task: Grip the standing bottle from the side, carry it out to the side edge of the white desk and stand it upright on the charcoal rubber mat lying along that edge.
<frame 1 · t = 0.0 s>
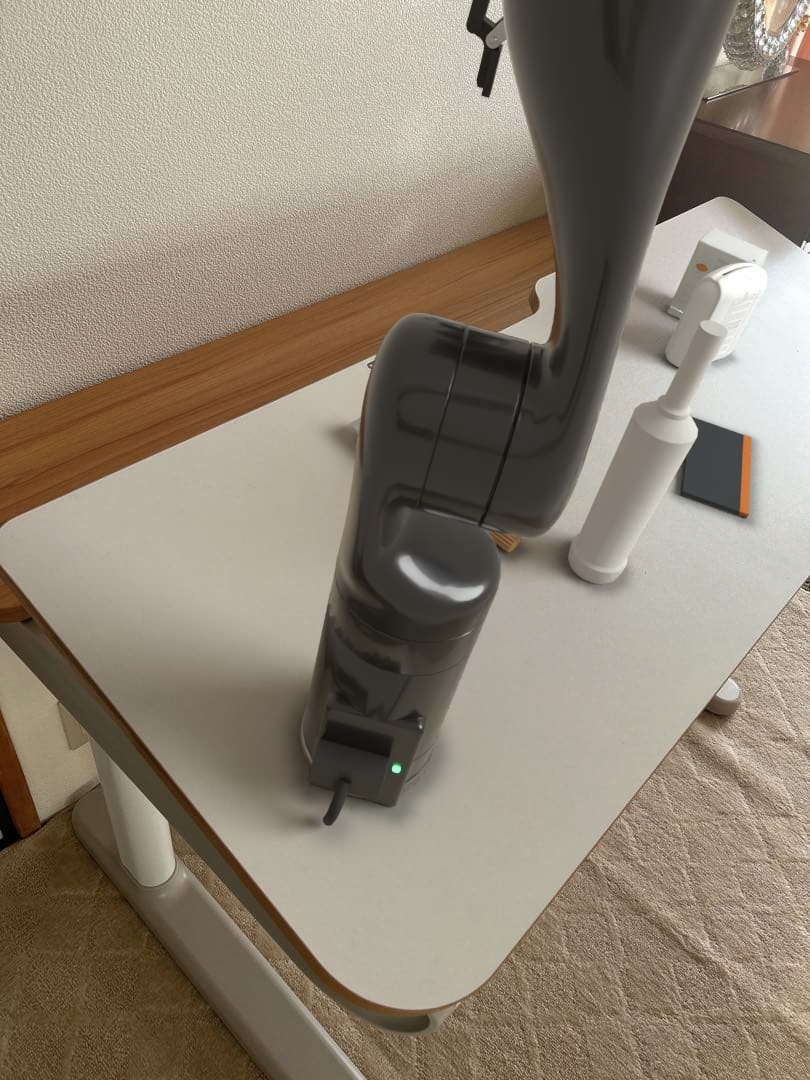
hand: (535, 108, 75), 29 cm above the table, tool pointing down, fingers open, 8 cm apart
bottle: (592, 566, 80), on the table
small box: (698, 319, 117), on the table
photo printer: (695, 357, 110), on the table
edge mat: (716, 466, 94), on the table
paintbrush: (429, 491, 83), on the table
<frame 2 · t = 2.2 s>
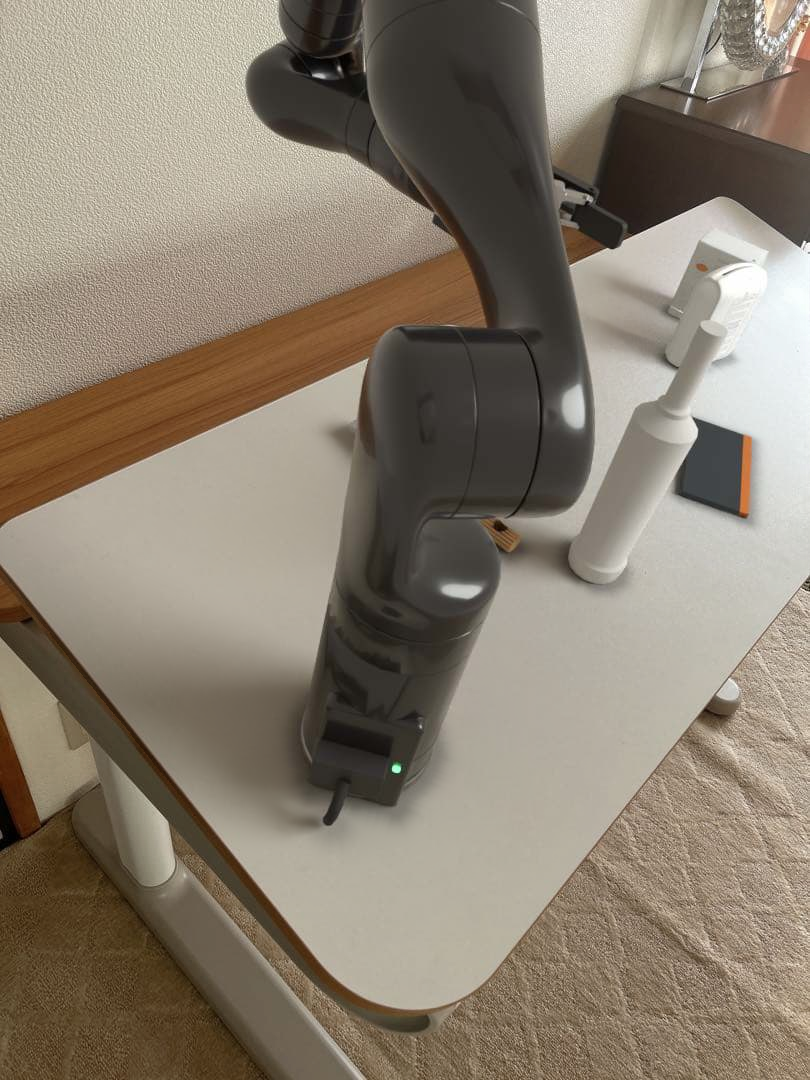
hand: (591, 250, 67), 25 cm above the table, tool horizontal, fingers open, 8 cm apart
nothing on the table moved.
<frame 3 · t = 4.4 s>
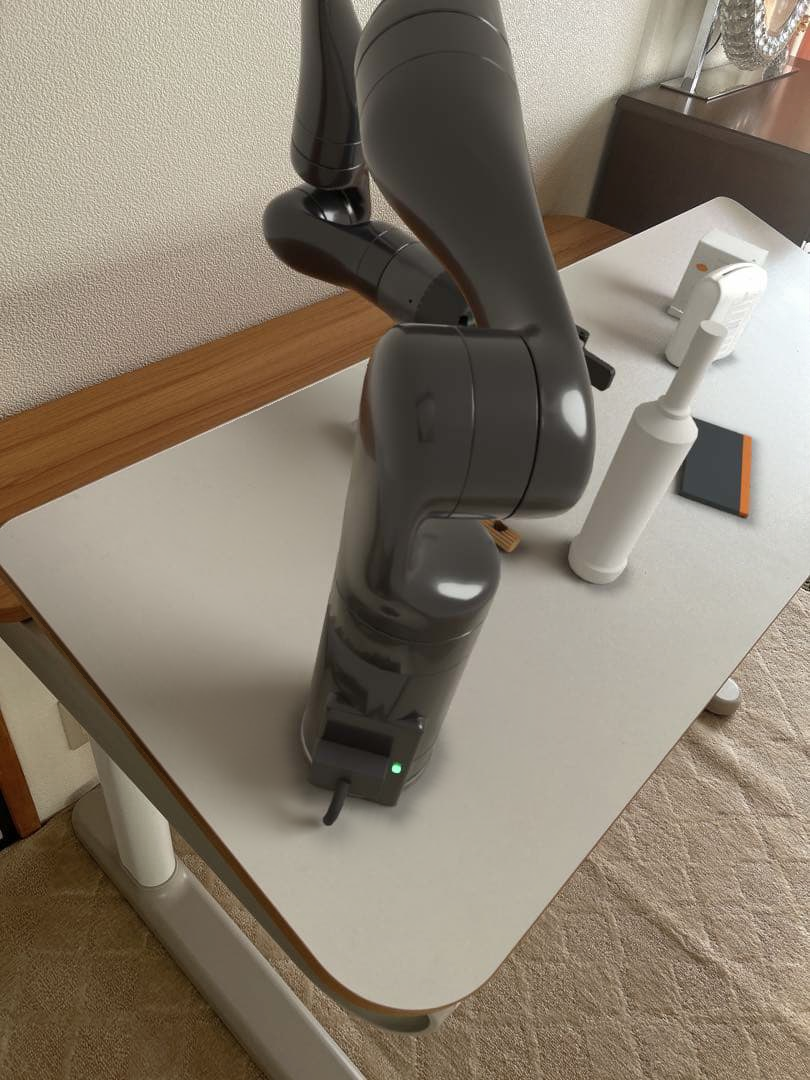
hand: (582, 397, 73), 14 cm above the table, tool horizontal, fingers open, 8 cm apart
nothing on the table moved.
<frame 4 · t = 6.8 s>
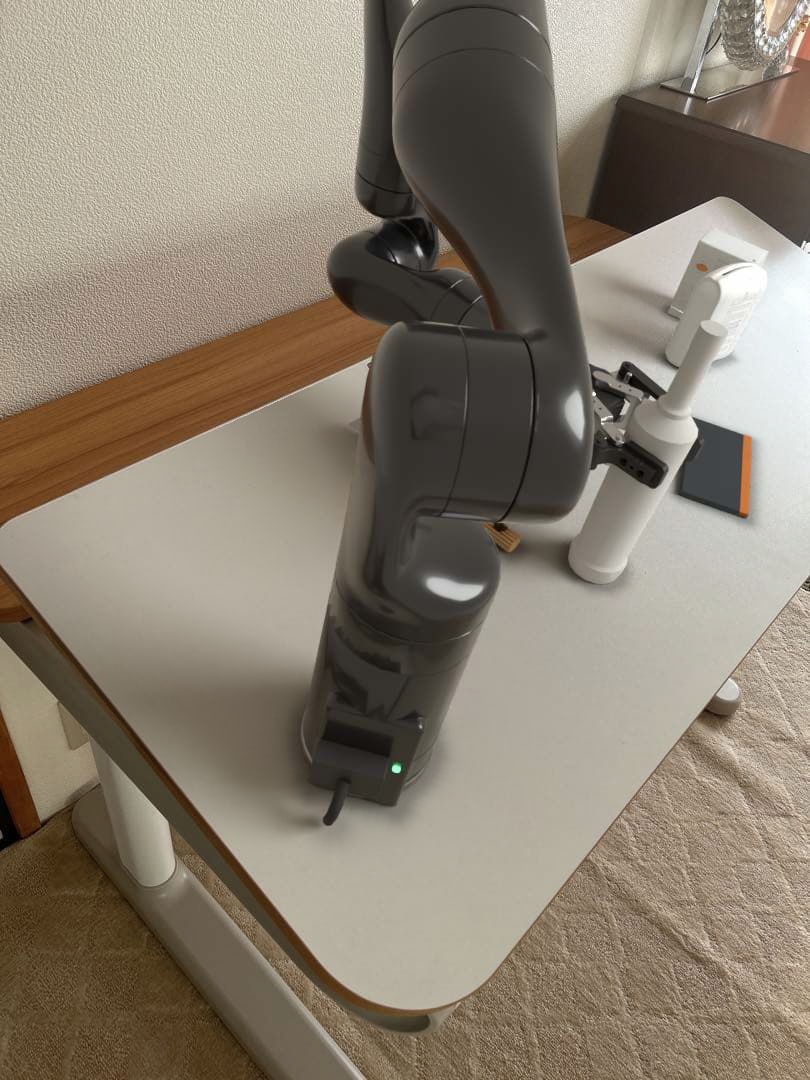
hand: (680, 464, 69), 14 cm above the table, tool horizontal, fingers closed on bottle, 5 cm apart
bottle: (592, 565, 80), on the table, touching gripper
everything else where it was.
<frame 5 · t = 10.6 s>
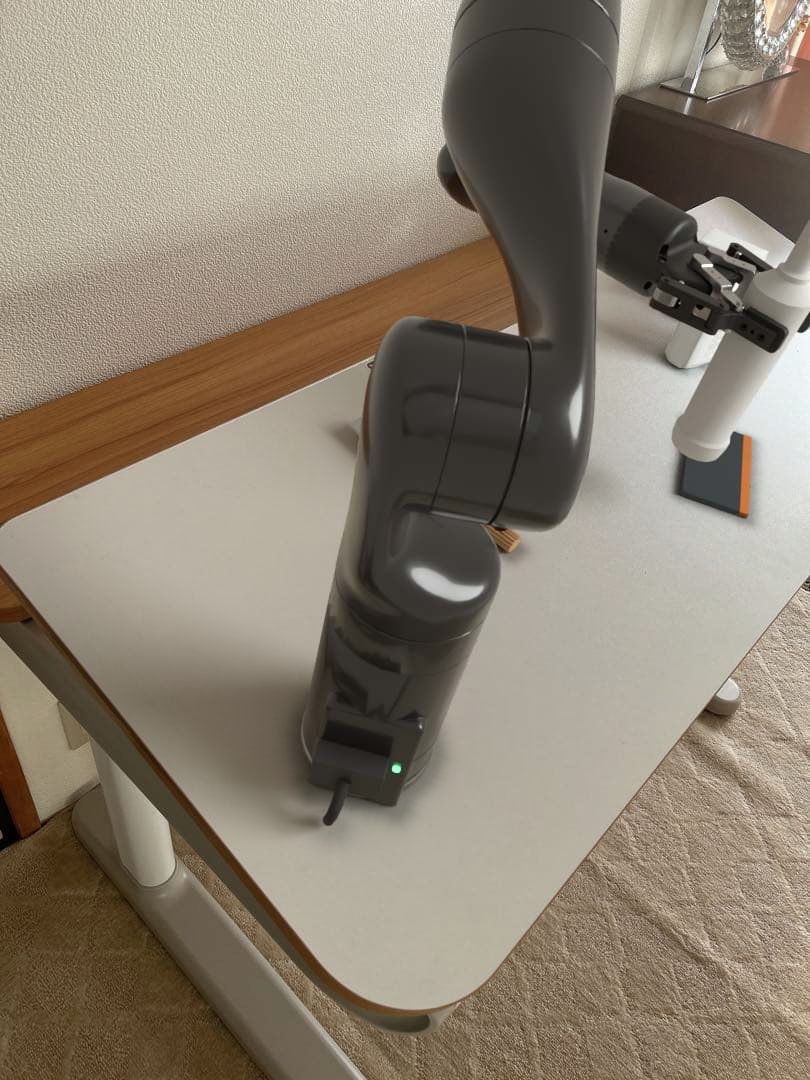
hand: (796, 331, 72), 22 cm above the table, tool horizontal, fingers closed on bottle, 5 cm apart
bottle: (694, 446, 83), point 8 cm above the table, touching gripper
everything else where it was.
when the fingers open (15 cm above the table, at t = 14.4 s): bottle stays where it is, resting on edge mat.
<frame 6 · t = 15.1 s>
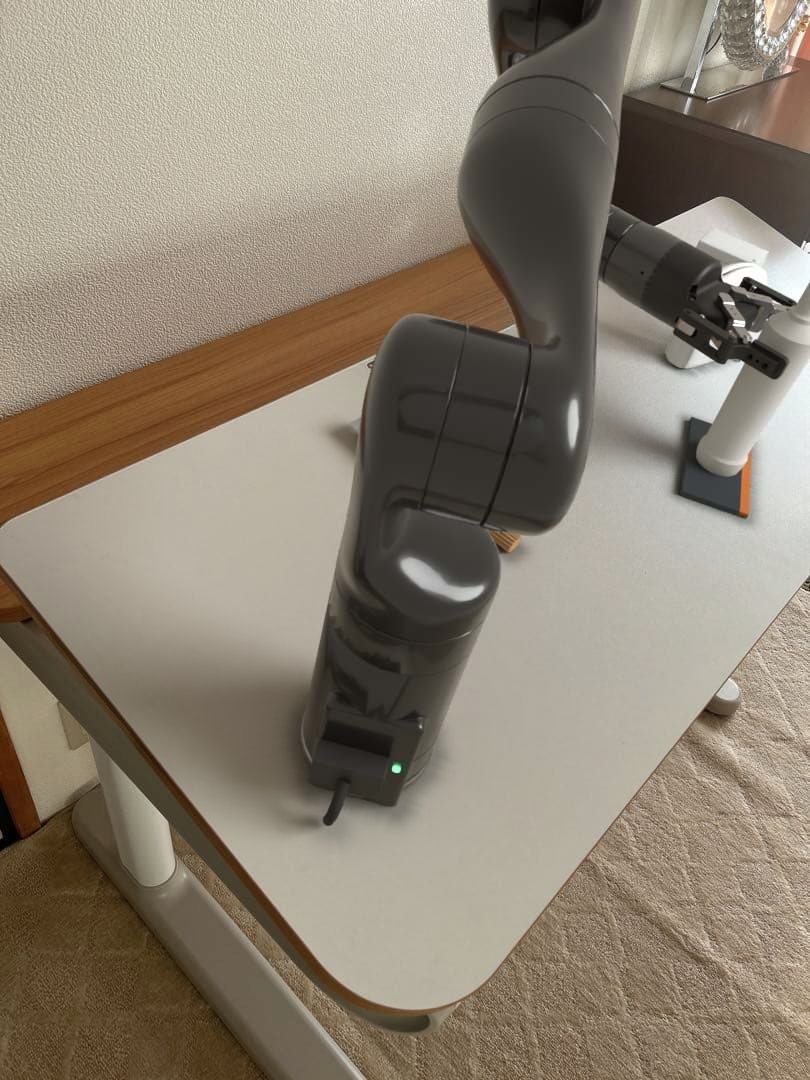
hand: (803, 356, 83), 15 cm above the table, tool horizontal, fingers open, 8 cm apart
bottle: (716, 463, 94), resting on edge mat
everything else where it was.
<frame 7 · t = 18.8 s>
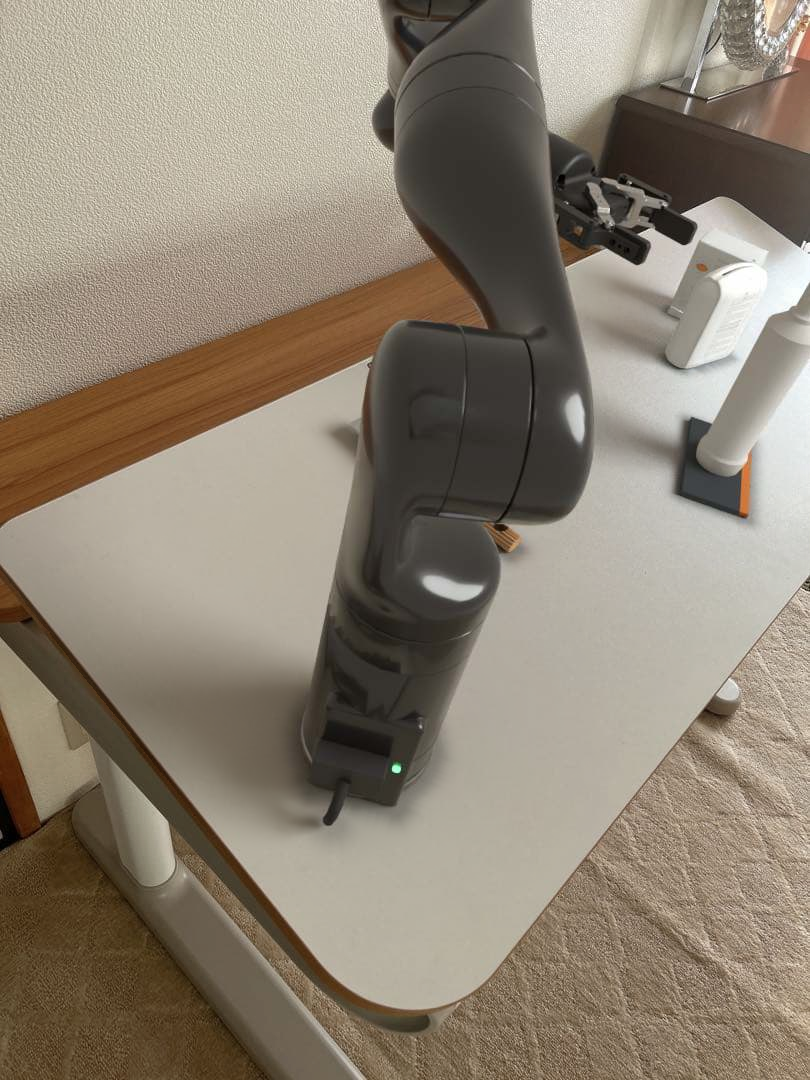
hand: (670, 245, 81), 21 cm above the table, tool horizontal, fingers open, 8 cm apart
nothing on the table moved.
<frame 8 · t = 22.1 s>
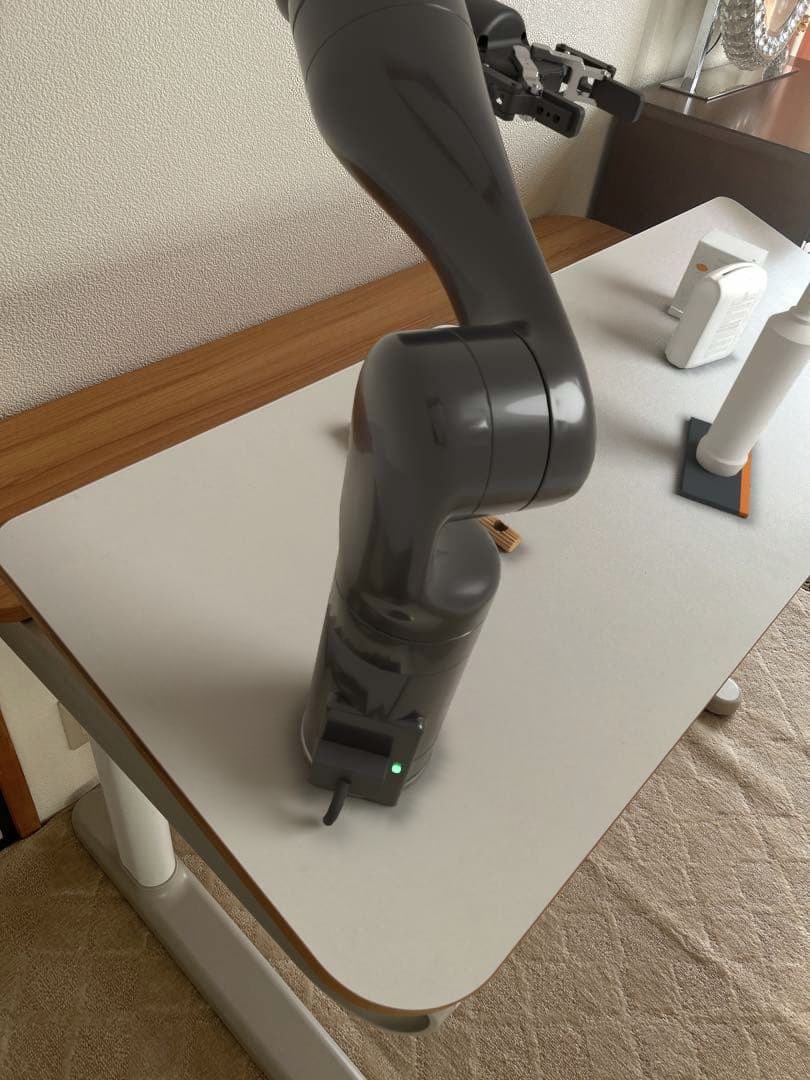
hand: (610, 117, 68), 32 cm above the table, tool horizontal, fingers open, 8 cm apart
nothing on the table moved.
at the end: bottle inside the target area on the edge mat (0.2 cm from its centre), point 0.4 cm above the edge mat's base; bottle tilted 0°; the gripper is holding nothing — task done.
